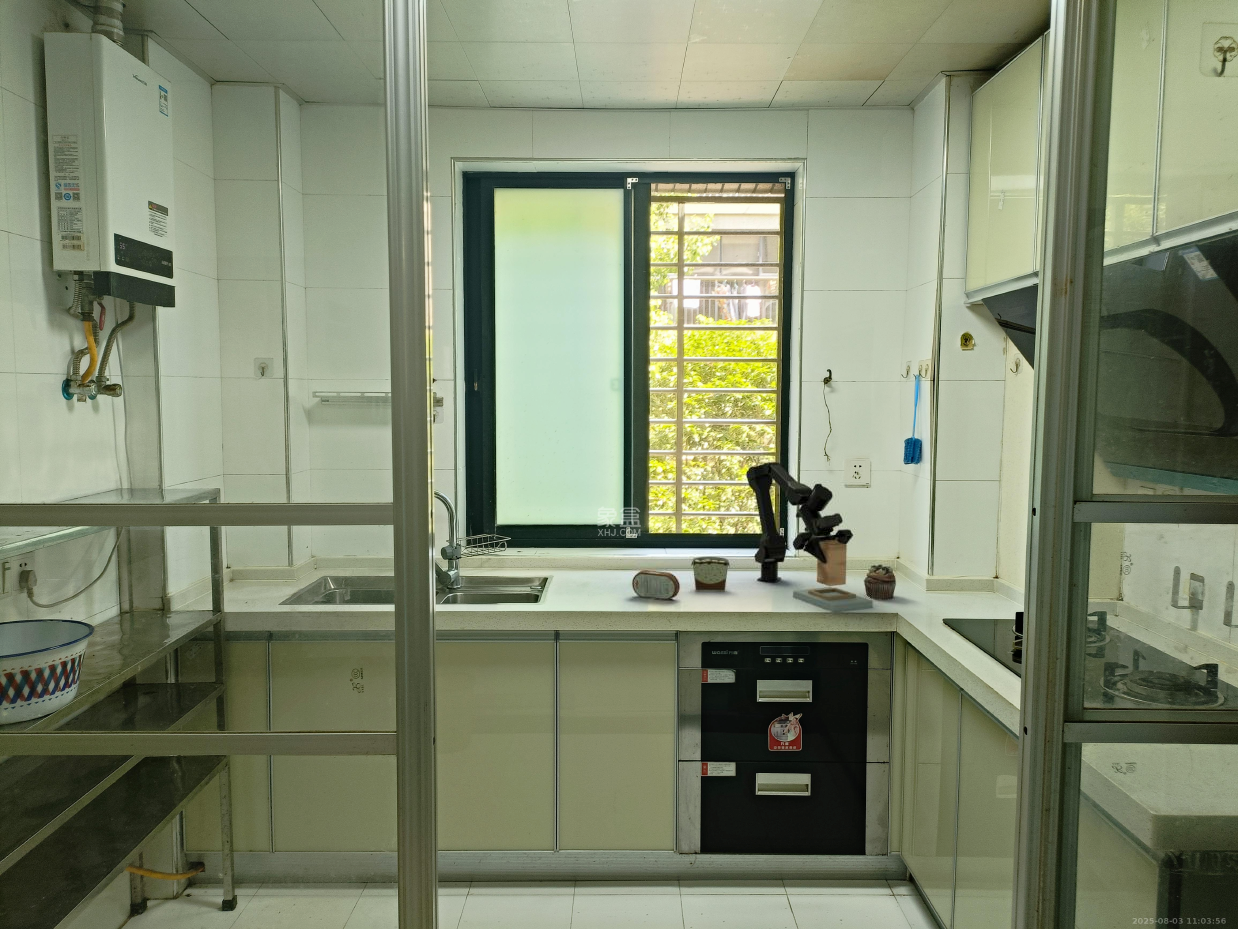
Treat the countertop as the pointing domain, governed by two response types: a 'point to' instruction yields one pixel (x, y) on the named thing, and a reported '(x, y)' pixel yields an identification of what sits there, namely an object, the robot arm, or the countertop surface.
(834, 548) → the terracotta block
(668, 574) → the tin
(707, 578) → the food container
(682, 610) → the countertop surface
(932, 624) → the countertop surface
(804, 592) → the base slab
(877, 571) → the cupcake
